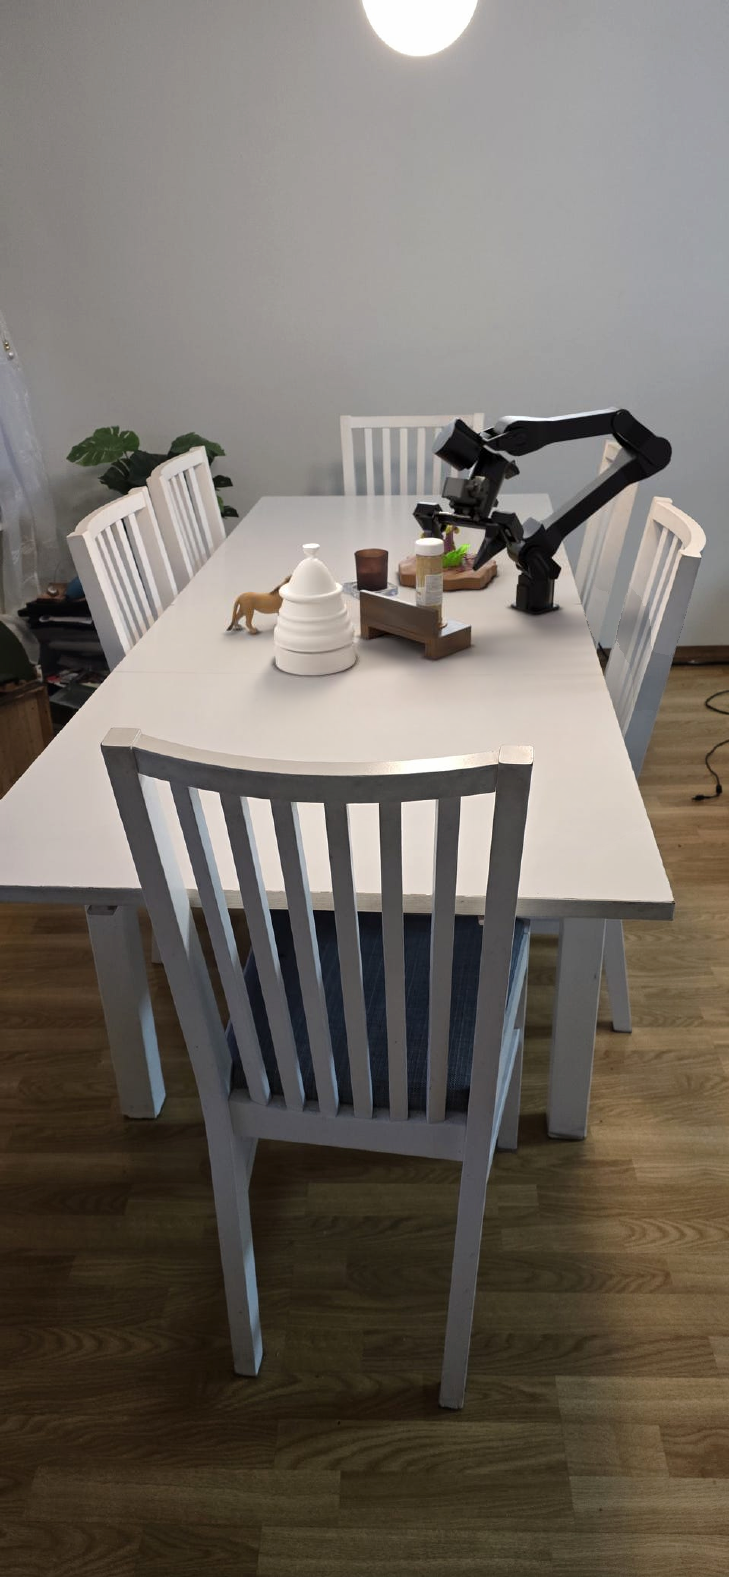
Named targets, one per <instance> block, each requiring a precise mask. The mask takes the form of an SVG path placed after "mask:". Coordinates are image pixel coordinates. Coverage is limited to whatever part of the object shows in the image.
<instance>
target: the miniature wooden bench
mask: <svg viewBox="0 0 729 1577" xmlns="http://www.w3.org/2000/svg"><path fill="white" fill-rule="evenodd" d="M358 595H359V623H360V624H359V625H360V637H361V638H364V639H367V640H370V639H373V638H375V637H378V636H382V635H385V634H388V633H390V634H393V635H396V636H400V637H403V638H405V639H409V640H412V641H414V642H415V641H416V642H418V643H423V644H425V645H424V651H425V653H424V657H425V658H427V659H429V660H433V661H436V660H438V659H440V658H443V657H446V656H448V655H451V654H454V653H457V652H458V651H462V650H464V649H466V648H469V647H471V646H472V625H470V624H467V623H463V622H460V621H456V620H452V619H449V618H447V617H442V622H441V623H439V610H435V609H432V608H428V607H424V606H421V605H417V604H416V603H413V602H411V601H410V602H409V601H405V600H403V599H399V598H395V597H391V596H388V595H385V594H381V593H377V592H373V591H369V590H366V589H361V590H359V594H358Z"/></svg>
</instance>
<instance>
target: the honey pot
mask: <svg viewBox="0 0 729 1577" xmlns="http://www.w3.org/2000/svg"><path fill="white" fill-rule="evenodd" d="M302 550H303V553H304V555H305V556H306V557H305V558H304V559H303V560H301V561H300V562H299V564H298V565H297V566H296V567H295V569H294V571H293V573H292V574H293V575H292V577H291V579H290V581H289V583H287V584H285V585H283V586H282V587H281V588H280V589H279V595H280V596H281V597H282V598H283V602H282V606H281V608H280V609H279V617H278V616H277V619H276V625H275V626H274V630H273V641H274V642H273V643H274V656H275V666H276V667H277V668H278V669H279V670H281V671H282V672H283V671H284V672H285V673H289V674H292V675H300V676H324V675H330V674H335V673H339V672H342V671H345V670H347V669H349V668H350V667H352V666H354V664H355V662H356V659H357V658H356V640H355V638H356V636H355V632H356V631H355V627H354V623H353V622H352V621H351V616H350V614H349V613H348V607H347V605H346V604H345V603H344V599H343V597H342V594H343V592H344V588H343V586H342V585H341V584H340V583H338V582H336V581H335V579H334V578H333V575H332V574H331V573H330V572H331V571H330V570H328V567H327V566H326V565H325V564H324V563H323V562H322V561H321V560H320V559H319V558H316V557H317V556H318V554H319V552H320V544H318V543H305V544H303V545H302Z"/></svg>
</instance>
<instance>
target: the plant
mask: <svg viewBox="0 0 729 1577" xmlns="http://www.w3.org/2000/svg"><path fill="white" fill-rule="evenodd" d="M444 532H445V536H444V538H443V540H442V541H443V542H444V553H443V591H455V590H481V589H482V588H484V587H485V586H486V584H487V583H489V582H490V581H491V579H492V578H493V577H495V576H497V575H498V565H497V561H496V560H495V559H493V558H491V559H490V560H489V561H488V562H487V563H485V564H484V565H483V566H482V567H481V568H480V569H479V570H477V571H476V572H475V571H473V569H472V567H473V563H474V560H475V558H476V555H477V553H469V550H468V549H469V547H470V546H471V543H464V544H463V545H461V546H459V547H458V548H457V545H456V542H455V540H454V534H456V535H458V534H459V533H460V528H459V526H451V525H447V528H446V530H445V531H444ZM423 538H425V534H424V531H423V532H421V534H420V539H423ZM416 558H417V557H416V554H415V555H408V556H407V557H406V559H403V560H401V561H400V562H398V576H399V579H400V583H401V585H402V586H405V587H406V586H409V587H412V588H413V587H414V588H416Z"/></svg>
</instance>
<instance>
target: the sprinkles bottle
mask: <svg viewBox="0 0 729 1577" xmlns="http://www.w3.org/2000/svg"><path fill="white" fill-rule="evenodd" d="M414 553H415V555H416V557H417V558H416V587H415V604H417V605H421V606H424V607H428V608H432V609H435V610H439V623H441V622H442V618H443V617H442V616H443V612H442V611H443V610H442V609H443V591H444V590H443V553H444V542H443V541H442V540H441V539H437V538H423V539H421V538H419V539H417V540H416V541H415V543H414Z"/></svg>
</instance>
